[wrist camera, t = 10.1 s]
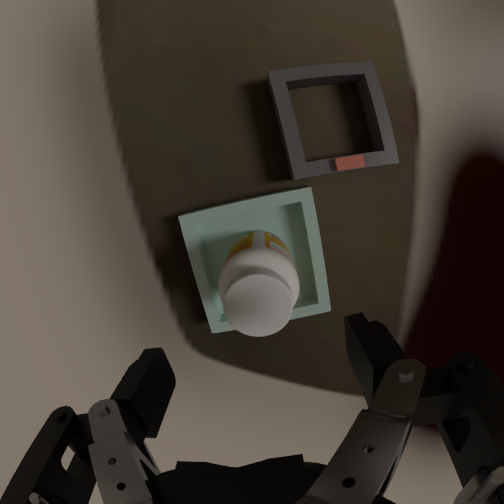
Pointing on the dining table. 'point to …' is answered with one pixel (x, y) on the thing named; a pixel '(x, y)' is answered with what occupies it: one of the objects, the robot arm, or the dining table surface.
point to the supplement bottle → (258, 284)
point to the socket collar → (371, 104)
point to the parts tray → (251, 219)
